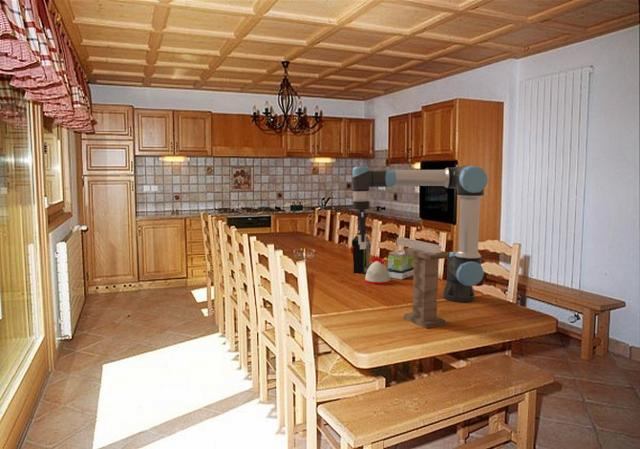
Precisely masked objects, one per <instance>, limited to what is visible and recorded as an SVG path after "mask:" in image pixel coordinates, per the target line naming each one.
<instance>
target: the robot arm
mask: <svg viewBox="0 0 640 449" xmlns="http://www.w3.org/2000/svg"><path fill="white" fill-rule="evenodd" d="M351 179H352V193H351V196H352V200H353V201H352V208H353V210H355V211H356V210H357V213H356V216H357V232H358V233H357V236H358V244H360V249H366V237H367V229H366V221H367V213H366V212H365V210H369V209H370V208H371V207H370V206H371V205H370V204H371V203H370V199H371V196H370V193H371V192H370V188H384V187H385V188H390V187H395V186H399V187H401V186H404V187H405V186H406V187H407V186H410V187H411V186H413V187H415V186H416V187H417V186H418V187H420V186H423V187H427V186H428V187H431V186H432V187H436V186H437V187H439V186H440V187H441V186H442V187H445V188H446V189H456V196H457V197H458V199H459V220H458V221H459V225H458V251H449V253H450V256H449V258H447V267H446V268H447V270H446V271H447V273H446V284H445V286H444V289H443V292H442V298H443V299H444V300H447V301H451V302H455V303H469V302H473V301H475V300H476V299H475V297H476V295H475V291H474V288H473V286H476V285H479V283H480V282H481V281H482V280H483V278H484V272H485V271H484V268H483V266H482V255H481V254H480V253H479V237H480V236H479V234H480V233H479V232H480V212H481V211H480V210H481V199H483V197H484V196H485V194H484V193H485V188H486V186H487V184H488V175H487V172H486V171H485V170H484V169H483V168H481V167H480V166H478V165H462V166H461V165H460V166H453V167H446V168H444V169H377V170H370V167H369V166H366V165H365V166H354V167H353V168H352V178H351Z"/></svg>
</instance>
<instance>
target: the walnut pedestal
mask: <svg viewBox="0 0 640 449" xmlns="http://www.w3.org/2000/svg"><path fill="white" fill-rule="evenodd" d="M404 250H405V254H409V255H413V256H414V275H413V279H412V280H413V283H412V285H413V286H412V310H411V311H412V312H408V313H403V319H405V320H407V321H409V322H410V323H413V324H416V325H418V326H420V327H422V328H424V329H430V328H433V327H434V328H436V327H440V326H445V325H446V319H444V318H441V317H439V316H437V313H438V311H437V310H438V290H439V286H438V284H439V265H440V264H439V263H440V262H439V260H442V259H448V258H449V256H450V252H447V251H443V250H441V253H438V254H434V253H430V252H426V251H422V250H418V249H414V248H409V247H404Z"/></svg>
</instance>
